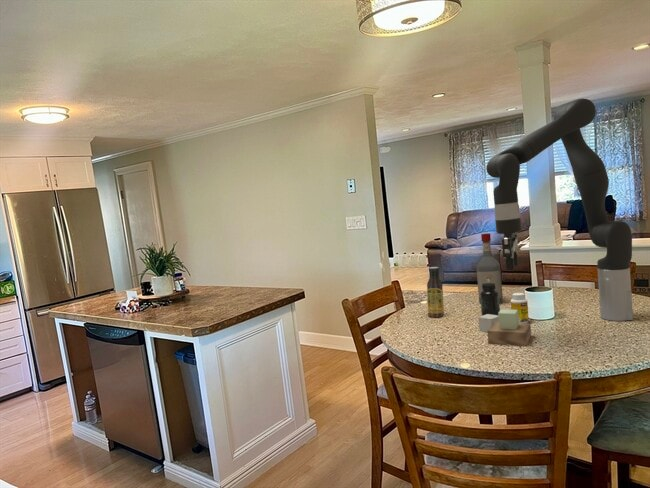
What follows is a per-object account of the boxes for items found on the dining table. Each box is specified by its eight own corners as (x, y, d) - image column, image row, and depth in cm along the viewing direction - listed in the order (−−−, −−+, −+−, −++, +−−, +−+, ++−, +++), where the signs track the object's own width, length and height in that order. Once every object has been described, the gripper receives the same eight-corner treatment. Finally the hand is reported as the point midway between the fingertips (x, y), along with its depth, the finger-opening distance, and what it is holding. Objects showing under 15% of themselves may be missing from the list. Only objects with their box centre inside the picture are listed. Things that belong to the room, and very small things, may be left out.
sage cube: (518, 325, 142) (517, 309, 142) (516, 329, 138) (515, 313, 138) (502, 324, 145) (501, 309, 144) (499, 328, 141) (498, 313, 140)
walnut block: (531, 335, 143) (530, 323, 143) (526, 345, 134) (525, 332, 134) (495, 333, 149) (494, 321, 149) (488, 343, 140) (487, 330, 140)
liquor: (501, 305, 186) (496, 234, 184) (478, 305, 190) (473, 235, 188) (503, 300, 194) (497, 232, 192) (481, 300, 198) (475, 233, 196)
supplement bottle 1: (492, 311, 178) (489, 281, 177) (504, 314, 171) (501, 284, 170) (478, 314, 176) (475, 284, 175) (489, 317, 169) (486, 286, 168)
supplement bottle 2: (523, 324, 155) (520, 296, 155) (508, 322, 160) (506, 294, 159) (532, 321, 159) (530, 293, 158) (518, 319, 163) (515, 291, 162)
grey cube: (501, 330, 153) (499, 315, 152) (492, 333, 150) (491, 319, 149) (488, 327, 157) (487, 314, 156) (479, 331, 154) (478, 317, 153)
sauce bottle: (427, 318, 178) (422, 269, 177) (429, 314, 184) (425, 266, 183) (444, 317, 176) (439, 268, 174) (446, 314, 181) (441, 265, 180)
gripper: (516, 218, 134) (522, 271, 135) (523, 214, 146) (528, 263, 147) (490, 220, 138) (496, 272, 139) (499, 217, 150) (504, 264, 151)
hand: (512, 267), depth 143 cm, fingers open, 8 cm apart
